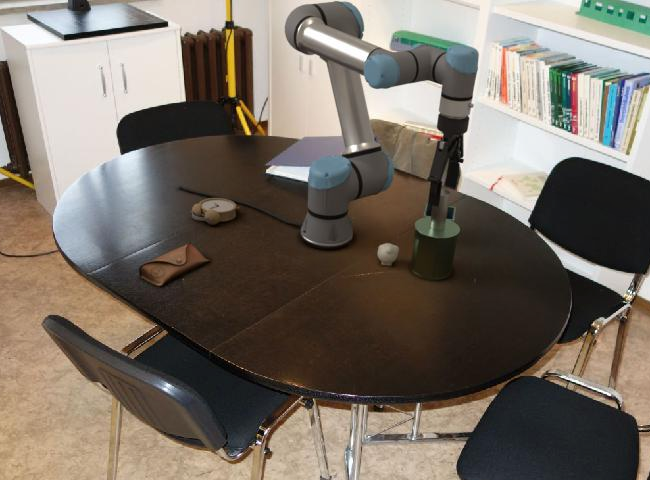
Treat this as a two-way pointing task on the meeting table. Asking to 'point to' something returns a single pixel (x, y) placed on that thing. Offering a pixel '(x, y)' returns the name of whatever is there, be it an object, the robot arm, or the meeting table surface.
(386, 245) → the paper ball
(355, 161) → the robot arm
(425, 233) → the bin lid
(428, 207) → the flower pot
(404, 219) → the meeting table surface
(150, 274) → the sunglasses case
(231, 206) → the alarm clock
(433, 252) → the trash can
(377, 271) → the meeting table surface
